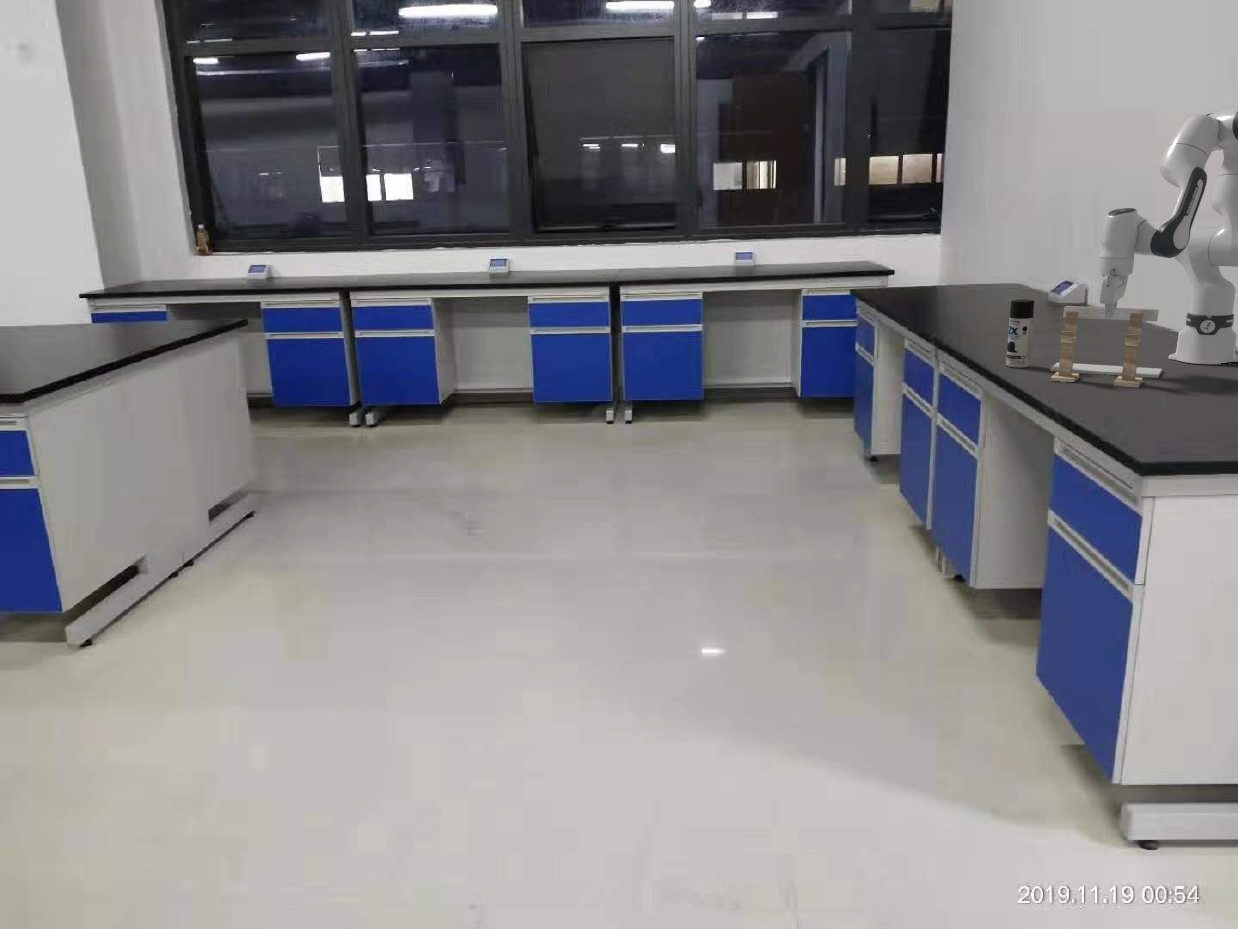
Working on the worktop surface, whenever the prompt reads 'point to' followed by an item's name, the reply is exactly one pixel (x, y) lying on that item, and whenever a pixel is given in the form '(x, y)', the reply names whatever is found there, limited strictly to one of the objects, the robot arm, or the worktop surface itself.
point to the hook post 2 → (1131, 353)
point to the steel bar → (1117, 313)
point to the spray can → (1020, 333)
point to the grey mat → (1110, 370)
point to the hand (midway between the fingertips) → (1109, 316)
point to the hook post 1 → (1067, 349)
